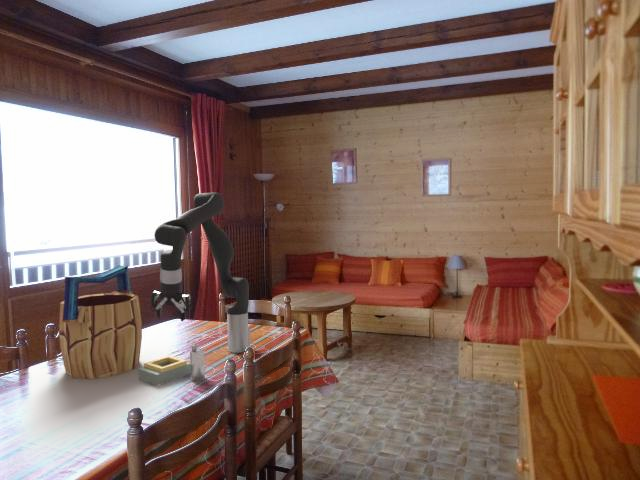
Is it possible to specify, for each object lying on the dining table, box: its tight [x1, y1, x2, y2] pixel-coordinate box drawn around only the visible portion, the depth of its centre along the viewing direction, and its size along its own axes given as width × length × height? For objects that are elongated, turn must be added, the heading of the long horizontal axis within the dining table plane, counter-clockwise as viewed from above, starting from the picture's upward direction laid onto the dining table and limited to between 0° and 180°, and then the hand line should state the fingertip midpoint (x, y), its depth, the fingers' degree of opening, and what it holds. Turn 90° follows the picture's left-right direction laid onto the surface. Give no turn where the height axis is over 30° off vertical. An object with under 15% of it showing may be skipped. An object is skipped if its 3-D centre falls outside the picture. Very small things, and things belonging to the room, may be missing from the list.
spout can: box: [189, 343, 206, 382], centre depth 177 cm, size 5×5×13 cm
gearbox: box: [137, 355, 191, 386], centre depth 183 cm, size 20×12×6 cm, turn 143°
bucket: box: [58, 265, 143, 380], centre depth 191 cm, size 39×31×40 cm
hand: (171, 318), depth 174 cm, fingers open, 8 cm apart
